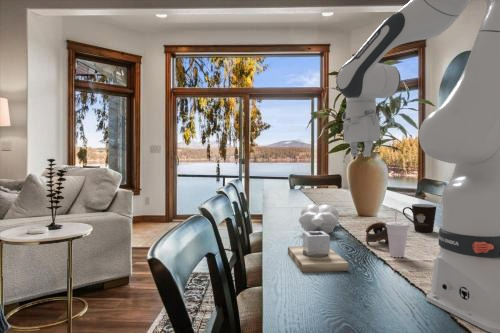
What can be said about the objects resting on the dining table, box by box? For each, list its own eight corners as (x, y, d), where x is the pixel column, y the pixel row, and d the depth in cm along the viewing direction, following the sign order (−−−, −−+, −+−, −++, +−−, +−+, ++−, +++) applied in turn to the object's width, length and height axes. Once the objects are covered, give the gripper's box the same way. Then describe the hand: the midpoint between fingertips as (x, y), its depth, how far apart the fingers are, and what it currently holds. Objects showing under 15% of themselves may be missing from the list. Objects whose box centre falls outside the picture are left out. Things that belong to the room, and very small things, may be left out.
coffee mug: (441, 232, 139) (441, 206, 139) (424, 234, 136) (424, 207, 135) (417, 226, 150) (417, 202, 149) (400, 228, 147) (401, 203, 146)
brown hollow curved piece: (403, 249, 117) (394, 228, 115) (376, 261, 119) (366, 240, 117) (391, 232, 129) (382, 212, 127) (365, 242, 130) (356, 224, 128)
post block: (348, 270, 94) (348, 239, 94) (302, 272, 93) (302, 241, 93) (326, 251, 112) (326, 226, 112) (287, 253, 111) (287, 227, 111)
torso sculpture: (301, 227, 159) (294, 235, 130) (301, 203, 160) (295, 205, 131) (338, 229, 156) (340, 237, 127) (338, 204, 157) (340, 206, 128)
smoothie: (380, 254, 109) (381, 207, 109) (397, 252, 111) (398, 206, 111) (396, 260, 103) (396, 210, 103) (413, 258, 105) (414, 209, 105)
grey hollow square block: (329, 253, 100) (329, 235, 100) (308, 254, 99) (308, 236, 99) (323, 248, 106) (323, 231, 106) (302, 248, 105) (302, 231, 105)
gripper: (386, 108, 105) (385, 156, 105) (358, 115, 125) (357, 156, 126) (364, 108, 104) (364, 156, 105) (340, 115, 125) (339, 156, 125)
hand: (360, 156), depth 115 cm, fingers open, 8 cm apart
